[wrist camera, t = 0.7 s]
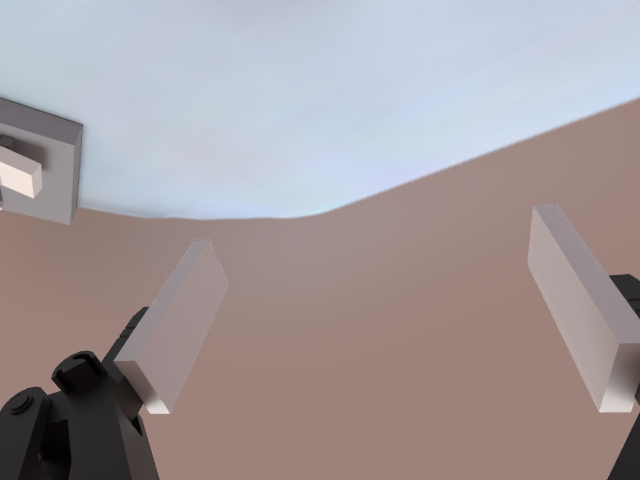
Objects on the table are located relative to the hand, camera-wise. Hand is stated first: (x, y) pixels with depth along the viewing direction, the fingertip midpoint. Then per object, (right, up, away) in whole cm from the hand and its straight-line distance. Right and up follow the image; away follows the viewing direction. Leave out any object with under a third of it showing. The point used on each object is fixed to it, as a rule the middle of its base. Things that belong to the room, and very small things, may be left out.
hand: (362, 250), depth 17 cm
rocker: (-30, +7, +19) cm, 36 cm away
